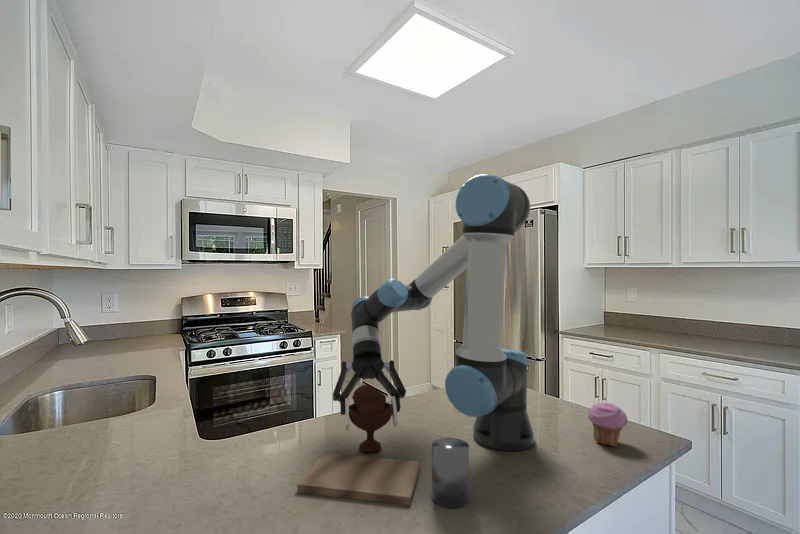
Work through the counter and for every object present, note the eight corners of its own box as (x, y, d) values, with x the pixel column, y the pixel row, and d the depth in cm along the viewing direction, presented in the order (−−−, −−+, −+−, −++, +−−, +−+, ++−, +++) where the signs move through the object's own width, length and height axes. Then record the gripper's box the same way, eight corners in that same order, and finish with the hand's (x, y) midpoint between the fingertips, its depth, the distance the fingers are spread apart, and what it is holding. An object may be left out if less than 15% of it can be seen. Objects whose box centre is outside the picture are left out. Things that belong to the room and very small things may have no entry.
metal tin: (468, 490, 78) (469, 439, 79) (468, 511, 72) (469, 455, 72) (433, 486, 80) (433, 436, 80) (429, 506, 73) (430, 451, 73)
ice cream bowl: (387, 459, 90) (388, 392, 90) (340, 454, 92) (340, 389, 92) (397, 439, 100) (397, 379, 100) (355, 436, 102) (355, 377, 102)
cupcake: (584, 443, 101) (584, 404, 101) (591, 432, 107) (592, 395, 108) (624, 453, 95) (624, 411, 95) (629, 441, 102) (629, 402, 102)
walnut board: (419, 468, 87) (420, 461, 87) (410, 505, 73) (410, 497, 73) (323, 458, 91) (323, 452, 91) (297, 492, 77) (297, 484, 77)
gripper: (406, 353, 113) (417, 430, 98) (323, 355, 109) (321, 435, 94) (410, 337, 108) (422, 415, 92) (323, 339, 104) (321, 421, 89)
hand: (371, 425), depth 93 cm, fingers closed on ice cream bowl, 11 cm apart
